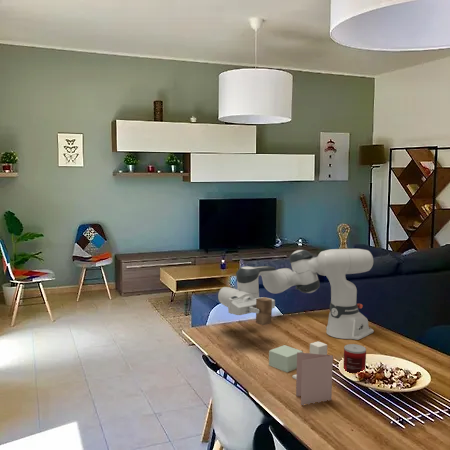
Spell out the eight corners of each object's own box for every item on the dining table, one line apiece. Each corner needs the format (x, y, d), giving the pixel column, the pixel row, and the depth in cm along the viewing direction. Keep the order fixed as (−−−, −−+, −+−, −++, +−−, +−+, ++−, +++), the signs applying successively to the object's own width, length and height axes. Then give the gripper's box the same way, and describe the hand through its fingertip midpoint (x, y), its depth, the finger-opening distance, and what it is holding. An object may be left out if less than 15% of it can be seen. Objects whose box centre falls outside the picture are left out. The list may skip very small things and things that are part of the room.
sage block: (284, 359, 197) (284, 344, 197) (302, 366, 191) (302, 351, 190) (268, 365, 191) (269, 350, 191) (287, 372, 185) (287, 357, 184)
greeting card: (331, 398, 164) (332, 354, 162) (330, 409, 157) (332, 363, 155) (296, 394, 167) (297, 351, 165) (294, 405, 159) (295, 359, 158)
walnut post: (264, 320, 210) (264, 297, 208) (271, 323, 206) (271, 299, 205) (255, 322, 207) (256, 298, 206) (263, 325, 203) (263, 301, 202)
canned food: (356, 371, 186) (358, 342, 185) (369, 380, 178) (370, 350, 177) (338, 374, 183) (339, 345, 182) (350, 383, 176) (352, 352, 175)
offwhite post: (317, 366, 190) (318, 341, 189) (326, 370, 187) (327, 344, 185) (309, 369, 188) (309, 343, 186) (318, 373, 184) (318, 347, 183)
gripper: (262, 306, 223) (283, 313, 212) (225, 313, 211) (245, 322, 200) (262, 292, 222) (284, 298, 211) (225, 299, 210) (246, 306, 199)
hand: (265, 310), depth 205 cm, fingers closed on walnut post, 4 cm apart
